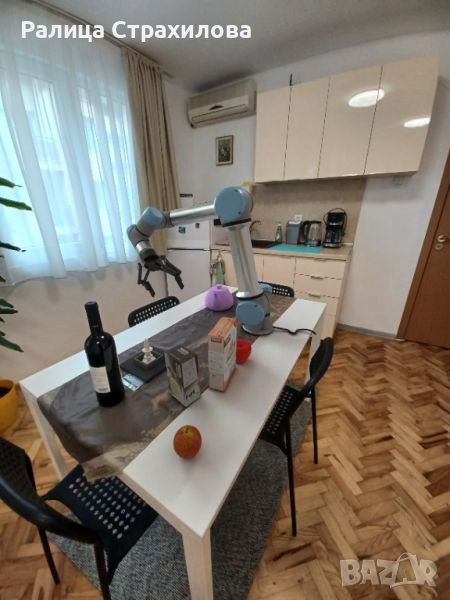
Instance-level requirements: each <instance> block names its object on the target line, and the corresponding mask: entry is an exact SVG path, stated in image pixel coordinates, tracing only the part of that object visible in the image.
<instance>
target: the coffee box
mask: <svg viewBox="0 0 450 600" xmlns="http://www.w3.org/2000/svg"><path fill="white" fill-rule="evenodd" d="M164 353H165V360H166V374H167V375H166V376H167V383H168V391H169V394H170V395H171V396H172V397H174V398H175V399H176V400H177V401H178V402H179V403H181V404H182V405H183V406H184V407H186V408H187V407H188V406H190V405H191V404H192V403H194V402H195V401H196V400H198V399H200V397H201V388H200V387H201V386H200V373H199V372H200V370H199V356H198V354H197V353H195V352H194V351H192V350H191V349H189V348H187V347H185V346H184V345H182V344H180V343H179V344H177V345H175V346H173V347H170V348H169V349H167V350H166V351H165V352H164Z"/></svg>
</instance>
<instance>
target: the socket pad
mask: <svg viewBox="0 0 450 600" xmlns="http://www.w3.org/2000/svg"><path fill="white" fill-rule="evenodd" d="M149 347H152V348H153V349H152V351H150V352H151V354H152V355H153V357H155V358H156V359H155V360H153V361H152V362H150V363H149V364H146V363H144V362H142V360H143V359H144V356H145V352H143V351H142V350H141V351H140V352H138V353H136V354H134V355H133V356H132V357H129V358H128V359H126V360H125V361H122V362H121V363H120V364H118V366H119V365H120V367H119V368H120V369H122V370H124V371H125V372H127V373H129V374H131V375H132V376H134V377H136V378H137V379H140V380H141V381H143V382H145V383H149V382H150V381H151V380H152V379H154V378H155V377H157V376H158V375H160V374H161V373H163V372H164V371H165V370H167V368H166V360H165V353H164V352H166V351H164V350H163V349H160V348H158V347H156V346H153V345H149Z"/></svg>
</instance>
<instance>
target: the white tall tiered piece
mask: <svg viewBox="0 0 450 600" xmlns="http://www.w3.org/2000/svg"><path fill="white" fill-rule="evenodd" d="M143 346H144V347H143V348H142V349H141V352H142V351H143V352H145V356H144V359H143V360H142V362H144V363H146V364H149V363H150V362H152V361H153V360H155V359H156V358H155V357H153V355H152V354H151V352H150V351H152V349H153V348H152V347H150V342H149V338H148V337H147V338H146V337H145V338H144V339H143Z"/></svg>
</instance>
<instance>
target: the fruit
mask: <svg viewBox="0 0 450 600" xmlns="http://www.w3.org/2000/svg"><path fill="white" fill-rule="evenodd" d="M202 442H203V438H202V434H201V432H200V430H199V428H197V427H196V426H195V425H191V424H186V425H183V426H181V427H180V428H178V429H177V431H176V432H175V434H174V436H173V440H172V443H173V444H172V445H173V450H174V452H175V454H176V455H177V456H178V457H179V458H182V459H192V458H194V457H195V456H196V455H197V454H198V453H199V452H200V450H201V448H202Z"/></svg>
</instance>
